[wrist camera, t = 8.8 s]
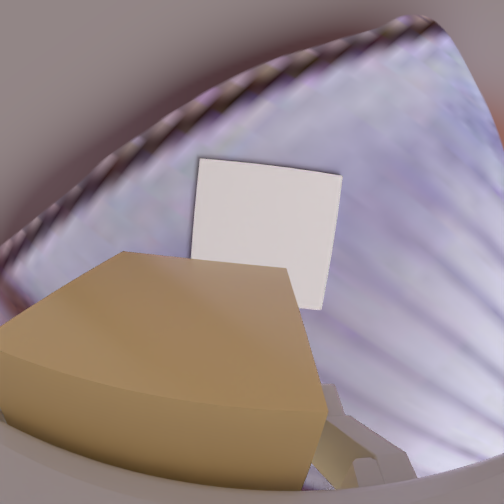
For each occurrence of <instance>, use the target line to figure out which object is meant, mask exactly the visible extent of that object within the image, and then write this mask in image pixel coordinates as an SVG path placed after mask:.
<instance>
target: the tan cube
mask: <svg viewBox="0 0 504 504" xmlns="http://www.w3.org/2000/svg"><path fill="white" fill-rule="evenodd" d="M0 408H1V410H2V413H3V415H4V418H5V420H6V422H7V424H8V425H10V426H12V427H14V428H16V429H18V430H20V431H22V432H24V433H27V434H29V435H31V436H33V437H35V438H38V439H40V440H42V441H45V442H47V443H49V444H52V445H54V446H57V447H59V448H62V449H64V450H67V451H70V452H72V453H75V454H78V455H81V456H84V457H87V458H90V459H93V460H96V461H99V462H102V463H105V464H109V465H112V466H116V467H119V468H123V469H127V470H130V471H134V472H138V473H143V474H147V475H151V476H156V477H161V478H166V479H171V480H176V481H182V482H188V483H194V484H201V485H208V486H216V487H225V488H235V489H248V490H266V491H301V489H302V487H303V484H304V481H305V479H306V476H307V474H308V471H309V468H310V465H311V463H312V460H313V457H314V454H315V451H316V448H317V446H318V443H319V440H320V437H321V434H322V431H323V427H324V424H325V421H326V418H327V415H328V412H329V411H328V408H327V404H326V401H325V397H324V393H323V390H322V386H321V383H320V379H319V376H318V372H317V369H316V365H315V362H314V358H313V355H312V352H311V348H310V345H309V341H308V338H307V335H306V331H305V328H304V324H303V321H302V318H301V314H300V311H299V308H298V304H297V301H296V298H295V295H294V291H293V288H292V285H291V282H290V278H289V275H288V272H287V269H286V268H280V267H270V266H260V265H249V264H239V263H229V262H220V261H210V260H200V259H190V258H181V257H171V256H162V255H153V254H144V253H134V252H125V251H122V252H121V253H119V254H117V255H115V256H114V257H112V258H110V259H108V260H107V261H105V262H103V263H101V264H100V265H98V266H96V267H95V268H93V269H91V270H89V271H88V272H86V273H84V274H83V275H81V276H79V277H78V278H76V279H74V280H73V281H71V282H69V283H68V284H66V285H64V286H63V287H61V288H60V289H58V290H56V291H55V292H53V293H51V294H50V295H48V296H47V297H45V298H43V299H42V300H40V301H39V302H37V303H36V304H34V305H32V306H31V307H29V308H28V309H26V310H25V311H23V312H22V313H20V314H18V315H17V316H15V317H14V318H12V319H11V320H9V321H8V322H6V323H5V324H3V325H2V326H0Z"/></svg>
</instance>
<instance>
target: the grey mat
mask: <svg viewBox="0 0 504 504" xmlns="http://www.w3.org/2000/svg"><path fill="white" fill-rule="evenodd" d="M342 177H343V176H340V175H334V174H328V173H322V172H315V171H308V170H301V169H294V168H287V167H279V166H271V165H262V164H254V163H244V162H235V161H224V160H213V159H201V158H200V163H199V172H198V182H197V191H196V202H195V213H194V225H193V237H192V250H191V259H200V260H210V261H220V262H229V263H239V264H249V265H260V266H270V267H280V268H286V269H287V272H288V275H289V278H290V282H291V285H292V288H293V291H294V295H295V298H296V301H297V304H298V308H304V309H314V310H321V309H322V304H323V299H324V293H325V288H326V283H327V277H328V271H329V266H330V260H331V254H332V248H333V242H334V235H335V229H336V222H337V215H338V208H339V201H340V193H341V185H342Z"/></svg>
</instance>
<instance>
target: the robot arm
mask: <svg viewBox="0 0 504 504" xmlns="http://www.w3.org/2000/svg"><path fill="white" fill-rule="evenodd" d="M321 386H322V390H323V393H324V397H325V401H326V404H327V408H328V411H329V412H328V415H327V418H326V421H325V424H324V427H323V431H322V434H321V437H320V440H319V443H318V446H317V448H316V451H315V454H314V457H313V460H312V464H313V465H314V466H315V467H316V468H317V469H318V471H319V472H320V473H321V474H322V475H323V476H324V477H325V478H326V479H327V480H328V481H329V482H330V484H331V485H332V486H333V487H334V488H335V489H334V490H315V491H266V490H248V489H235V488H225V487H216V486H208V485H201V484H194V483H188V482H182V481H176V480H171V479H166V478H161V477H156V476H151V475H147V474H143V473H138V472H134V471H130V470H127V469H123V468H119V467H116V466H112V465H109V464H105V463H102V462H99V461H96V460H93V459H90V458H87V457H84V456H81V455H78V454H75V453H72V452H70V451H67V450H64V449H62V448H59V447H57V446H54V445H52V444H49V443H47V442H45V441H42V440H40V439H38V438H35V437H33V436H31V435H29V434H27V433H24V432H22V431H20V430H18V429H16V428H14V427H12V426H10V425H8V424H7V422H6V420H5V418H4V415H3V413H2V410H1V408H0V504H504V453H503V454H500V455H497V456H495V457H492V458H489V459H486V460H483V461H480V462H477V463H474V464H471V465H467V466H464V467H461V468H457V469H454V470H450V471H446V472H442V473H438V474H434V475H430V476H425V477H421V478H417V476H416V474H415V471H414V469H413V467H412V465H411V463H410V461H409V458H408V456H407V454H406V452H404V451H403V450H401V449H400V448H398V447H396V446H395V445H393V444H392V443H390V442H389V441H387V440H386V439H384V438H383V437H381V436H380V435H378V434H377V433H375V432H374V431H372V430H371V429H369V428H368V427H366V426H365V425H363V424H362V423H360V422H359V421H357V420H356V419H354V418H353V417H351V416H346V415H345V412H344V409H343V407H342V404H341V401H340V398H339V395H338V392H337V390H336V387H335V385H334V384H321Z"/></svg>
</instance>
